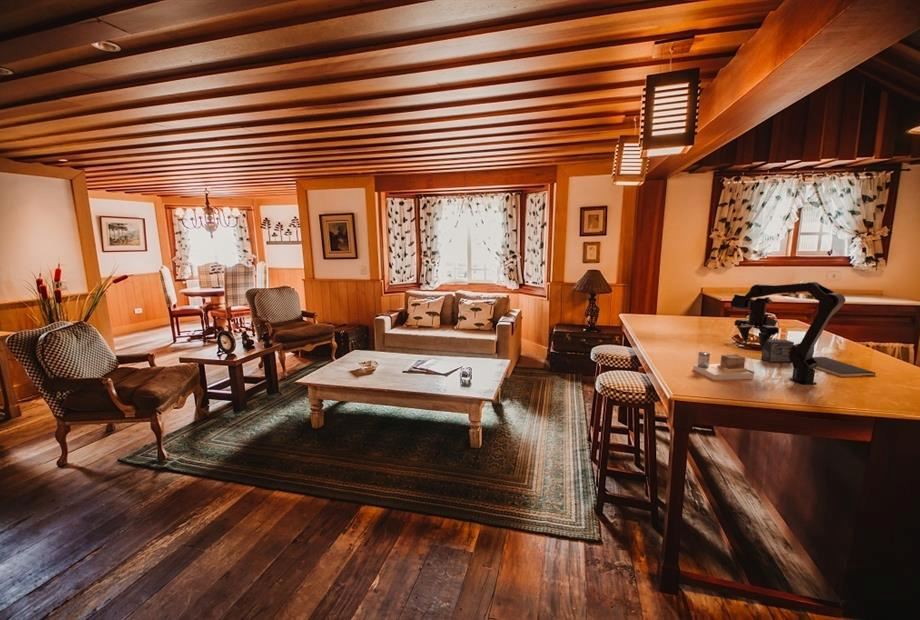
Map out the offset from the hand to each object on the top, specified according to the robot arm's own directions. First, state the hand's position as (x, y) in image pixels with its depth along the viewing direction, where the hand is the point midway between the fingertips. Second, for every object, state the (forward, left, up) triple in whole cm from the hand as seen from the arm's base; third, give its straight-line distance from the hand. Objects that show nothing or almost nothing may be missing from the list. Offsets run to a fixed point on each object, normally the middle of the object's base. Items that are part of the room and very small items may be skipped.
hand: (753, 344), depth 179 cm
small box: (+10, -22, -12) cm, 27 cm away
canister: (-1, +24, -10) cm, 26 cm away
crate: (-7, +15, -9) cm, 19 cm away
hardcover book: (-3, -38, -13) cm, 40 cm away
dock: (-5, +18, -12) cm, 22 cm away
